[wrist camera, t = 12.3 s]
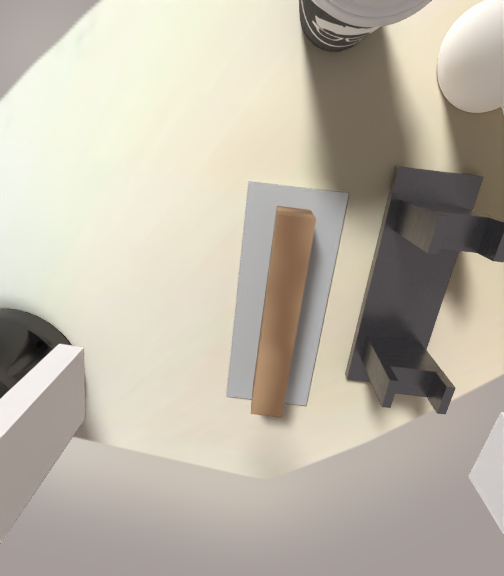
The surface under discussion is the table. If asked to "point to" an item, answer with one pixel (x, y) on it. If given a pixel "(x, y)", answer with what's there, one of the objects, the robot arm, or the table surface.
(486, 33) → the mug
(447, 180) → the stand
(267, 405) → the rail
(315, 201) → the mat
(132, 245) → the table surface
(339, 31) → the coffee cup
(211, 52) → the table surface
